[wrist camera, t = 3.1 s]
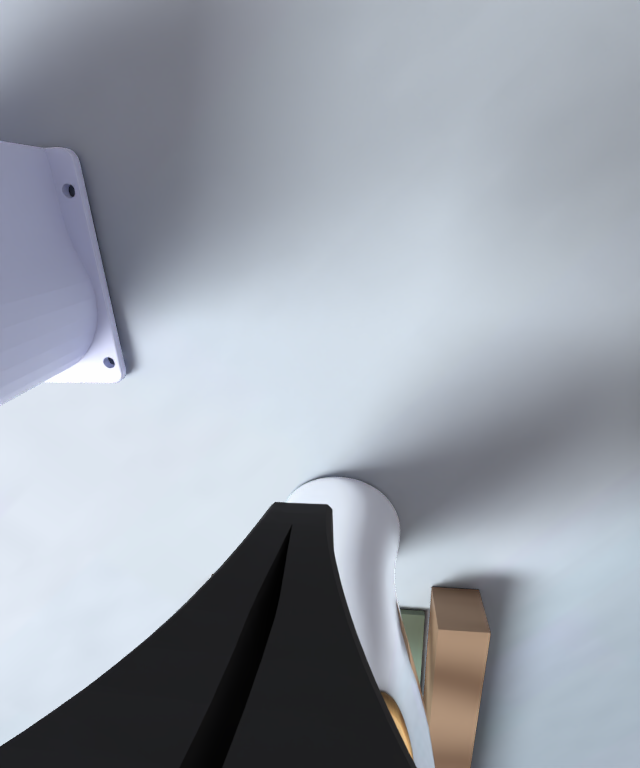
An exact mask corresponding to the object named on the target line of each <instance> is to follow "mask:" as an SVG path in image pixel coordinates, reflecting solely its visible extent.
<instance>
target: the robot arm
mask: <svg viewBox="0 0 640 768" xmlns="http://www.w3.org/2000/svg"><path fill="white" fill-rule="evenodd" d="M70 185H72V186H73V187H74V189H75V195H74V197H72V196H71V195H70V193H69V186H70ZM108 357H110V358H112V359H113V360H114V362H115V365H112V364H111V363H110V362H109V360H108ZM125 376H126V368H125V364H124V359H123V355H122V350H121V346H120V341H119V337H118V332H117V328H116V323H115V319H114V314H113V310H112V305H111V300H110V296H109V291H108V287H107V282H106V278H105V273H104V269H103V264H102V260H101V255H100V251H99V246H98V242H97V237H96V233H95V228H94V224H93V219H92V215H91V210H90V206H89V201H88V197H87V192H86V188H85V183H84V179H83V174H82V170H81V165H80V161H79V159H78V156H77V155H76V154H75V152H74V151H72V150H70V149H68V148H62V147H50V148H41V147H35V146H29V145H23V144H17V143H11V142H5V141H0V406H1V405H3V404H4V403H6V402H8V401H10V400H12V399H14V398H15V397H17V396H19V395H21V394H23V393H25V392H26V391H28V390H30V389H32V388H34V387H36V386H37V385H39V384H41V383H118V382H120V381H121V380H122V379H124V378H125ZM0 768H417V767H416V765H415V763H414V761H413V759H412V757H411V755H410V753H409V751H408V749H407V747H406V745H405V743H404V741H403V739H402V737H401V735H400V732H399V730H398V728H397V726H396V724H395V722H394V720H393V718H392V715H391V713H390V711H389V709H388V707H387V705H386V703H385V701H384V698H383V696H382V694H381V692H380V690H379V687H378V685H377V683H376V680H375V678H374V675H373V673H372V671H371V668H370V666H369V663H368V661H367V658H366V656H365V653H364V651H363V648H362V645H361V643H360V640H359V638H358V635H357V632H356V629H355V626H354V623H353V620H352V617H351V614H350V611H349V608H348V605H347V601H346V598H345V595H344V591H343V588H342V584H341V580H340V576H339V572H338V567H337V563H336V559H335V553H334V538H333V510H332V508H331V507H330V506H329V505H328V504H310V503H285V502H275V503H274V504H272V505H271V506H270V508H269V509H268V510H267V511H266V513H265V514H264V515H263V517H262V518H261V519H260V521H259V522H258V523H257V524H256V526H255V527H254V528H253V529H252V531H251V532H250V533H249V534H248V535H247V537H246V538H245V539H244V540H243V542H242V543H241V544H240V545H239V546H238V547H237V549H236V550H235V551H234V552H233V553H232V554H231V555H230V557H229V558H228V559H227V560H226V561H225V562H224V563H223V565H222V566H221V567H220V568H219V569H218V570H217V571H216V572H215V573H214V574H213V575H212V577H211V578H210V579H209V580H208V581H207V582H206V583H205V584H204V585H203V586H202V587H201V588H200V589H199V590H198V591H197V592H196V593H195V594H194V595H193V596H192V597H191V598H190V599H189V600H188V601H187V602H186V603H185V604H184V605H183V606H182V607H181V608H180V609H179V610H178V611H177V612H176V613H175V614H174V615H173V616H172V617H171V618H169V619H168V620H167V621H166V622H165V623H164V624H163V625H162V626H161V627H160V628H158V629H157V630H156V631H155V632H154V633H153V634H152V635H151V636H149V637H148V638H147V639H146V640H145V641H144V642H142V643H141V644H140V645H139V646H138V647H136V648H135V649H134V650H133V651H131V652H130V653H129V654H128V655H127V656H125V657H124V658H123V659H122V660H121V661H119V662H118V663H117V664H116V665H114V666H113V667H112V668H111V669H109V670H108V671H107V672H105V673H104V674H103V675H102V676H100V677H99V678H98V679H97V680H95V681H94V682H93V683H91V684H90V685H89V686H87V687H86V688H85V689H83V690H82V691H80V692H79V693H78V694H76V695H75V696H73V697H72V698H71V699H69V700H68V701H66V702H65V703H63V704H62V705H61V706H59V707H58V708H56V709H55V710H54V711H52V712H51V713H49V714H48V715H47V716H45V717H44V718H42V719H41V720H39V721H38V722H36V723H35V724H33V725H32V726H30V727H29V728H28V729H26V730H25V731H23V732H22V733H20V734H19V735H17V736H15V737H14V738H12V739H11V740H9V741H8V742H6V743H5V744H3V745H2V746H0Z"/></svg>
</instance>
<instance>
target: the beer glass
mask: <svg viewBox="0 0 640 768" xmlns="http://www.w3.org/2000/svg"><path fill="white" fill-rule="evenodd" d="M285 503H310V504H328V505H329V506H330V507H331V508H332V510H333V538H334V553H335V559H336V563H337V567H338V572H339V576H340V580H341V584H342V588H343V591H344V595H345V598H346V601H347V605H348V608H349V611H350V614H351V617H352V620H353V623H354V626H355V629H356V632H357V635H358V638H359V640H360V643H361V645H362V648H363V651H364V653H365V656H366V658H367V661H368V663H369V666H370V668H371V671H372V673H373V675H374V678H375V680H376V683H377V685H378V687H379V690H380V692H381V694H382V696H383V698H384V701H385V703H386V705H387V707H388V709H389V711H390V713H391V715H392V718H393V720H394V722H395V724H396V726H397V728H398V730H399V732H400V735H401V737H402V739H403V741H404V743H405V745H406V747H407V749H408V751H409V753H410V755H411V757H412V759H413V761H414V763H415V765H416V767H417V768H435V762H434V754H433V747H432V740H431V734H430V729H429V724H428V720H427V715H426V710H425V706H424V701H423V696H422V692H421V687H420V683H419V679H418V675H417V672H416V668H415V664H414V660H413V656H412V653H411V649H410V645H409V642H408V638H407V634H406V631H405V627H404V623H403V620H402V616H401V612H400V608H399V604H398V600H397V595H396V587H395V564H396V558H397V553H398V548H399V541H400V523H399V518H398V515H397V513H396V511H395V509H394V507H393V505H392V504H391V502H390V501H389V500H388V499H387V498H386V497H385V496H384V495H383V494H382V493H381V492H380V491H379V490H377V489H376V488H374V487H372V486H371V485H369V484H367V483H365V482H362V481H359V480H356V479H352V478H347V477H324V478H319V479H315V480H312V481H310V482H307V483H305V484H304V485H302V486H300V487H299V488H297V489H296V490H295V491H294V492H293V493H292V494H291V495H290V496H289V497H288V499H287V500H286V502H285Z"/></svg>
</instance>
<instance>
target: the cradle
mask: <svg viewBox="0 0 640 768" xmlns="http://www.w3.org/2000/svg"><path fill="white" fill-rule="evenodd" d="M212 575H213V574H212ZM211 577H212V576H211ZM400 612H401V616H402V620H403V623H404V627H405V631H406V634H407V638H408V642H409V645H410V649H411V653H412V656H413V660H414V664H415V668H416V672H417V675H418V679H419V683H420V678H421V664H422V650H423V635H424V621H425V613H424V611H420V610H405V609H400ZM490 635H491V632H490V629H489V625H488V621H487V618H486V614H485V610H484V607H483V603H482V599H481V596H480V592H479V590H474V589H458V588H441V587H432V590H431V604H430V617H429V630H428V643H427V657H426V670H425V683H424V696H423V701H424V706H425V710H426V715H427V720H428V724H429V729H430V734H431V740H432V747H433V754H434V762H435V768H470V767H471V760H472V753H473V747H474V740H475V734H476V727H477V720H478V714H479V707H480V701H481V694H482V687H483V681H484V674H485V668H486V661H487V654H488V648H489V641H490Z"/></svg>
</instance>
